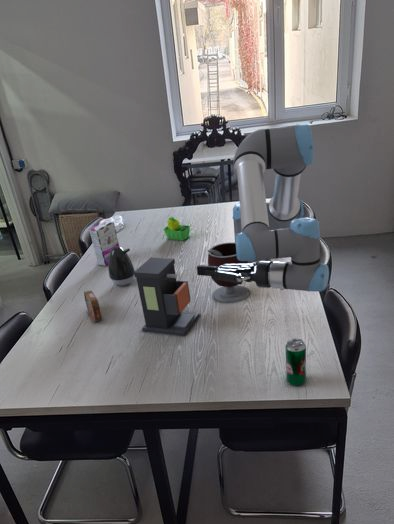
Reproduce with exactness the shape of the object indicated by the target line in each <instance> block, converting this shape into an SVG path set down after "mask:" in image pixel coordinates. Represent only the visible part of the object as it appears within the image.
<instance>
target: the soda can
mask: <svg viewBox="0 0 394 524" xmlns="http://www.w3.org/2000/svg"><path fill="white" fill-rule="evenodd" d="M285 379H286V382H287V383H288V384H289V385H291V386H294V387H299V386H303V385H304V384H305V383H306V381H307V345H306V342H305V341H304V340H303V339H302V338H295V337H294V338H291V339H289V340H288V341H287V342H286V345H285Z"/></svg>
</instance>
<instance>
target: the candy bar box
mask: <svg viewBox="0 0 394 524" xmlns="http://www.w3.org/2000/svg"><path fill="white" fill-rule="evenodd" d="M88 231H89V235H90V238H91V243H92V246H93V251H94V253H95V258H96V261H97V265H98V266H104V267H108V261H109V255H110V251H111V249H112V248H114V247H116V246H118V247H120V243H119V239H118V235H117V232H116V230H115V226H114V222H113V221H105V222H103V223H101V224H99V223H98V224H97V225H95V226H93V227H91V228H89V229H88Z"/></svg>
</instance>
